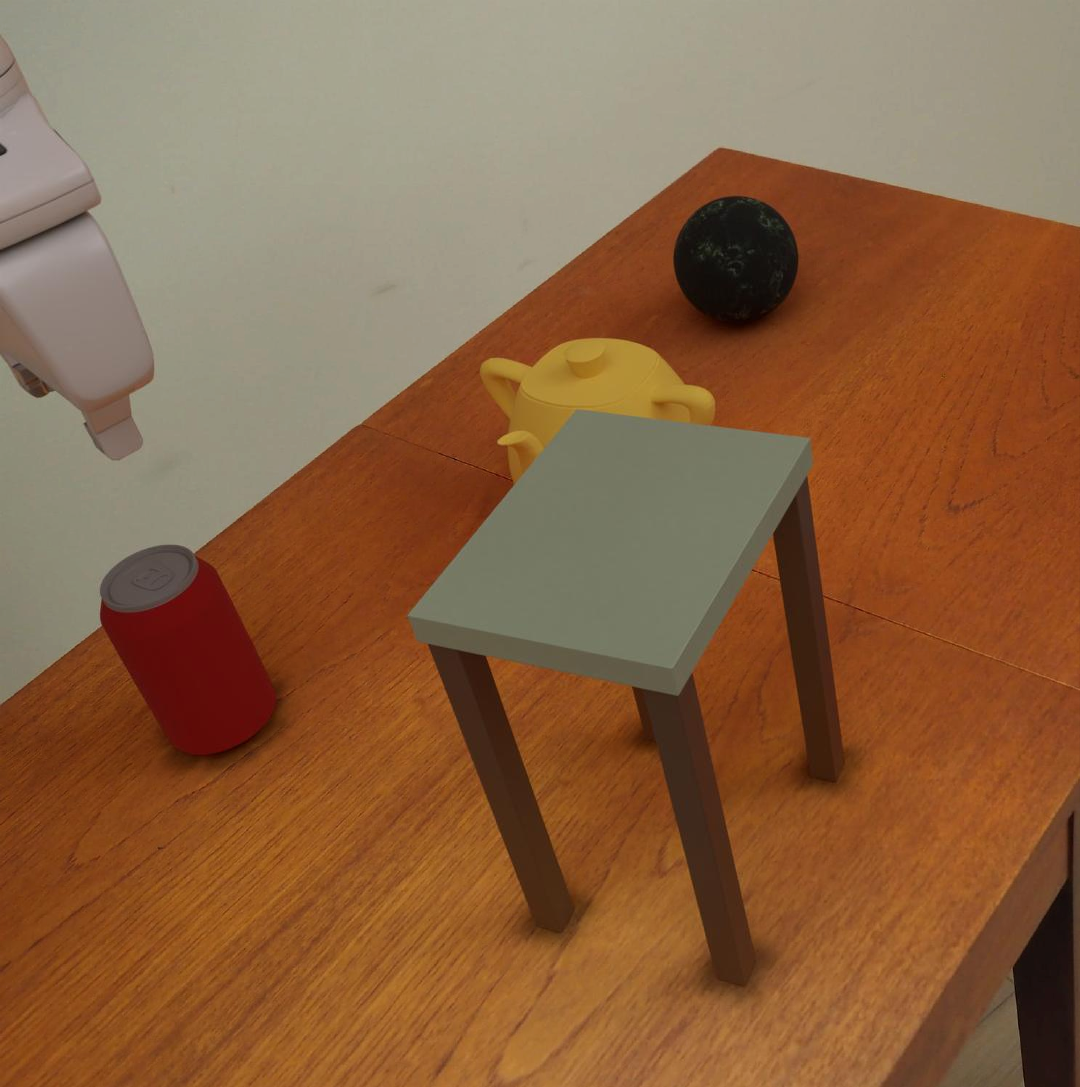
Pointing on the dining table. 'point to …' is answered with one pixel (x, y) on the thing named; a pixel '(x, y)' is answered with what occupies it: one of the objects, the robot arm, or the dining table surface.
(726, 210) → the decorative stone
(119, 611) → the beverage can
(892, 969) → the dining table surface
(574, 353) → the teapot
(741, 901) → the side table
